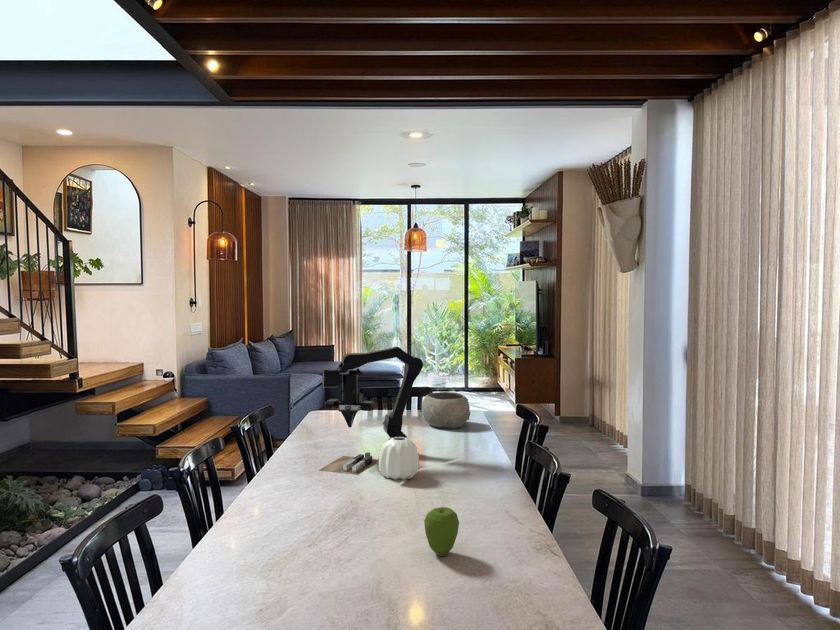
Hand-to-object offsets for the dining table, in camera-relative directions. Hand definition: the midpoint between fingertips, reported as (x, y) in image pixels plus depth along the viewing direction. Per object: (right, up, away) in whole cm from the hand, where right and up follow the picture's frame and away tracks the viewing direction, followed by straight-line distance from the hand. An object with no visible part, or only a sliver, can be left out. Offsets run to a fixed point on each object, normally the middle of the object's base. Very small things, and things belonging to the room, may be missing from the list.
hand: (350, 427), depth 227 cm
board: (+1, -12, -12) cm, 17 cm away
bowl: (+39, -11, +59) cm, 72 cm away
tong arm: (+3, -11, -13) cm, 17 cm away
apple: (+32, -15, -83) cm, 90 cm away
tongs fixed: (+6, -11, -12) cm, 17 cm away
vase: (+19, -13, -23) cm, 33 cm away
